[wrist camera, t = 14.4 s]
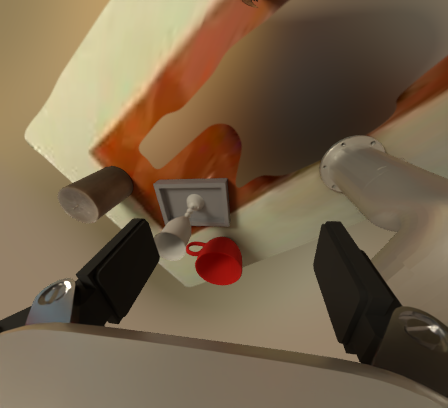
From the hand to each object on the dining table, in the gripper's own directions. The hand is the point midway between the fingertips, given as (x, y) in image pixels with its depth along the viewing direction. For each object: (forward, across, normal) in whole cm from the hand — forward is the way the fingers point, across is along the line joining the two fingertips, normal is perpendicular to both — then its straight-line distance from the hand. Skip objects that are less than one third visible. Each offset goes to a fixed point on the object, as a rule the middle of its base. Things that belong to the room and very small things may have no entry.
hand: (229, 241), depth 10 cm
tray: (+36, +16, +17) cm, 43 cm away
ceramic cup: (+36, +10, +32) cm, 50 cm away
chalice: (+36, +15, +17) cm, 42 cm away
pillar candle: (+37, +38, +11) cm, 54 cm away
